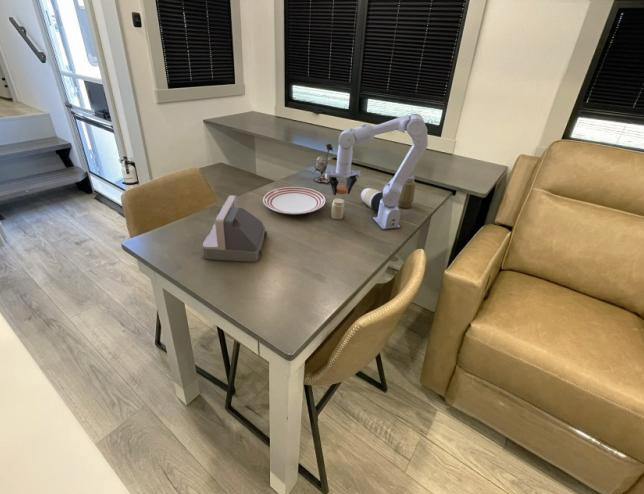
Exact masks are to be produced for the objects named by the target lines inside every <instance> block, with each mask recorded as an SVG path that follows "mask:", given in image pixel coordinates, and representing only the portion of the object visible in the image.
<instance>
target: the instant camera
mask: <svg viewBox="0 0 644 494" xmlns="http://www.w3.org/2000/svg"><path fill="white" fill-rule="evenodd" d="M265 226H266V225H264V223H263V221H262V220H260V219H259V218H258V217H256V216H254V215H253V214H252V213H250V212H249V211H247V210H246V209H245V208H243V207H239V206H238V197H237V195H228V197H227V199H226V200H225V202H224V204H223V205H222V206H220V207H219V208H218V211H217V216H216V218H215V220H214V224H213V225H212V226H211V227H212V229H211V230H210V231H209V233H208V235H207V236H206V238H205V239H204V241H203V243H202V246H203V255H204V259H205V260H214V261H235V262H251V263H252V262H257V261H258V260H259V258H260V256H262V254H263V251H262V247H263V244H264V240H265V237H267V236H268V231H267V230H266V227H265Z"/></svg>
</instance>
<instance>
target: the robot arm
mask: <svg viewBox="0 0 644 494" xmlns="http://www.w3.org/2000/svg"><path fill="white" fill-rule="evenodd" d="M394 131H398V132H401V133H402V134H403V133H404V134H405V133H407V135H408V136H409V137H410V139H411V140H412V144H411V147H410V148H409V150H408V151H407V154H406V155H405V157H404V159H403V160H402V162H401V164H400V165H399V167H398V169H397V170H396V172H395V174H394V175H393V177H392V178H391V179H390V180H389V182H388V183H387V184H385V185H384V187H383V188H382V192H383V197H382V199H381V200H380V205H379V211H378V212H377V216H373V217H372V219H373V220H374V221H375V222H376V224H378V226H379V227H380V228H381V230H389V229H396V228H397V229H398V228H401V225H400V219H401V215H402V214H401V211H400V209H399V206H398V201H399V195H400V194H401V191H402V188H403V185H404V184H405V182H406V180H407V179H408V177H409V176H410V174H411V172H412V173H413V171H414V169H415V167H416V166H417V164H418V162H419V161H420V159H421V158H422V156H423V154H424V152H425V151H426V150H427V148H428V145H429V143H428V142H429V141H428V140H429V139H428V138H429V137H428V127H427V126H426V123H425V120H424V118H423V116H421V114H418V113H412V114H410V115H403V116H400V117H396V118H394V119H391V120H388V121H385V122H382V123H378V124H376V125H374V126H373V125H371V124H366V123H362V124H361V126H358V127H354V128H352V127H351V128H349V129H345V130H342V132H341V133H340V134H339V136H338V139H337V142H338V149H337V155H336V156H337V157H336V169H335V170H334V171H330V172H324V173H325V175H324V176H325V178H326V179H329V180H330V181H329V182H330V183H329V184H330V186H331V191H332V195H333V196H337V193H336V191H337V185H339V181H338V178H344V179H346V186H347V187H348V193H347V194H348V195H350V193H351V191H352V189H353V187H354V185H355V184H356V183H357V179H358V178H360V177H361V171H360V170H352V161H353V147H354V145H358V144H362V143H366V142H368V141H369V142H370V141H372V140H374V138H375V136H377V135H381V134H385V133H386V134H387V133H390V132H394ZM357 177H358V178H357Z"/></svg>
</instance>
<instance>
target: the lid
mask: <svg viewBox="0 0 644 494" xmlns="http://www.w3.org/2000/svg"><path fill="white" fill-rule="evenodd" d="M336 194H338V195H346V194H348V187H347V185H345V184H338V185H337V191H336Z"/></svg>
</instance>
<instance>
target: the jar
mask: <svg viewBox="0 0 644 494" xmlns="http://www.w3.org/2000/svg"><path fill="white" fill-rule="evenodd" d="M345 205H346V204H345V200H344V199H342V198H334V199H333V202H332V203H331V210H330V211H331V212H330V217H331V218H332V219H333V220H342V219H344V214H345Z"/></svg>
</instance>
